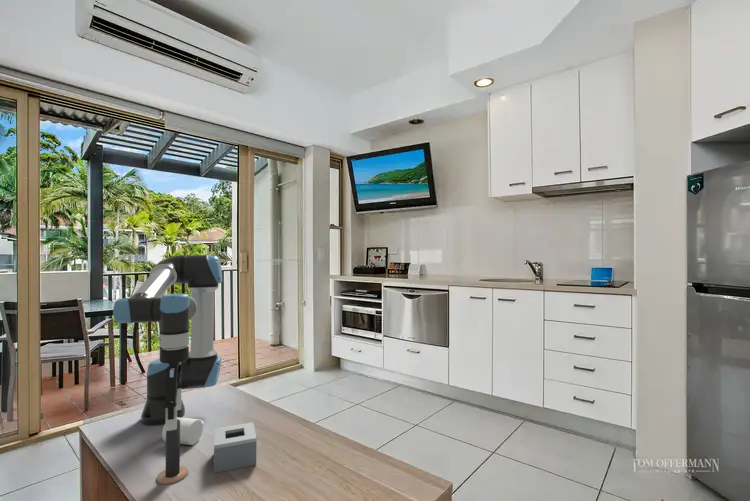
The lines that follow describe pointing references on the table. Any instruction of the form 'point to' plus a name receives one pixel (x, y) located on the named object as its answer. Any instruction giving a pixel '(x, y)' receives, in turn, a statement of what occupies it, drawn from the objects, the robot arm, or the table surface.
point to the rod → (173, 452)
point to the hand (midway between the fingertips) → (173, 419)
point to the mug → (188, 430)
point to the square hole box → (234, 447)
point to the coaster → (164, 480)
